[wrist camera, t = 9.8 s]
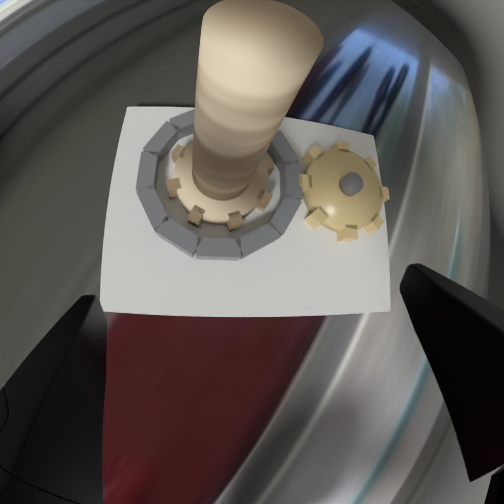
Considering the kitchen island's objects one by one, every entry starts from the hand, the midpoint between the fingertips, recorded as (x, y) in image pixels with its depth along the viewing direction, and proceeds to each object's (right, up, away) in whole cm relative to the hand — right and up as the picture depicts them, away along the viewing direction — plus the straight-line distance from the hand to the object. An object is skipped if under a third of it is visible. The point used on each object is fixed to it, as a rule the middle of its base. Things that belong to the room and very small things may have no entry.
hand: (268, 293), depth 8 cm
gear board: (0, +4, +15) cm, 15 cm away
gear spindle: (-3, +6, +13) cm, 15 cm away
